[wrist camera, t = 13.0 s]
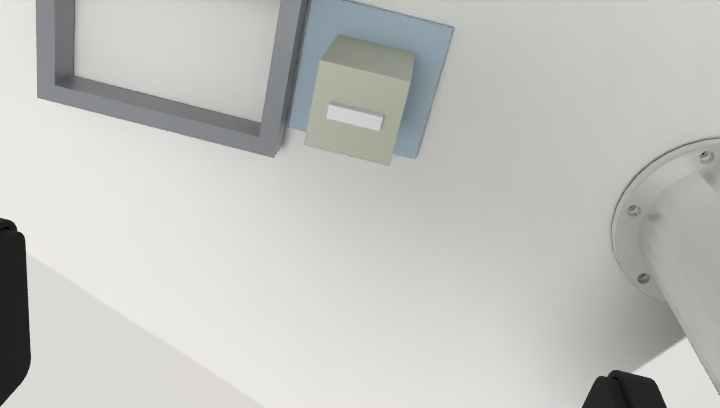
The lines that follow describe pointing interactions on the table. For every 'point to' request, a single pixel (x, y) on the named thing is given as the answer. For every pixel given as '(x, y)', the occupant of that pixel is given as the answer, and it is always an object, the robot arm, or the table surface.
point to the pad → (380, 27)
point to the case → (163, 113)
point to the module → (359, 99)
